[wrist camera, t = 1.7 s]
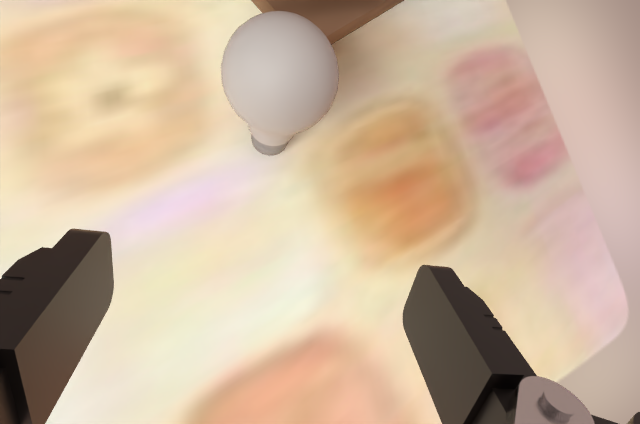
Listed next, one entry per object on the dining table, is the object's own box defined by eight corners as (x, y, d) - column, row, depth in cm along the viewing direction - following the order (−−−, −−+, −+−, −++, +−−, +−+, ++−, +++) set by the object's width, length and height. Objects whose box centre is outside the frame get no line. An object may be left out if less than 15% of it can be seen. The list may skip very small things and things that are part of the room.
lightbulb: (310, 111, 29) (351, -8, 19) (310, 186, 27) (355, 101, 17) (227, 102, 28) (223, -30, 17) (222, 180, 26) (213, 84, 16)
